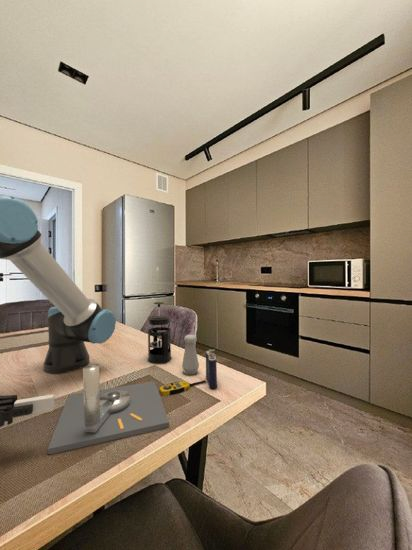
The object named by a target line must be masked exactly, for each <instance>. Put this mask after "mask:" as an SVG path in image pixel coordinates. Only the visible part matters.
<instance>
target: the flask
mask: <svg viewBox="0 0 412 550" xmlns="http://www.w3.org/2000/svg"><path fill="white" fill-rule="evenodd" d="M214 351H216V349H208V350H207V351H205V377H206V379H205V380H206V382H207V383H206V384H208V389H209V390H211V391H214V390H217V389H218V380H217V379H218V375H217V374H218V373H217V371H218V370H217V355H216V354H215V353H214Z"/></svg>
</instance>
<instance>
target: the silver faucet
mask: <svg viewBox="0 0 412 550" xmlns="http://www.w3.org/2000/svg"><path fill="white" fill-rule="evenodd" d="M82 382H83V383H82V385H83V386H82V387H83V390H82V391H83V392H82V393H83V395H84V429H85V432H93V433H95V432H96V431H97V430H98V429H99V427H100V426H101V425H102V424H103V422H104V421H105V420H106V419H107V418H108V416H109V415H110V414H111V413H114V412H118V411H120V410H123V409H124V408H126V407H127V406H128V405H129V404H130V394H129V393H128V392H127V391H123V390H116V391H110V392H107V393H105V394H103V395H101V396H100V390H101V388H100V365H99V364H87V365H86V366H84V367H82Z"/></svg>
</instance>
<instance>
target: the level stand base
mask: <svg viewBox="0 0 412 550" xmlns="http://www.w3.org/2000/svg"><path fill="white" fill-rule="evenodd" d="M116 390H123V391H127V392H128V393H129V394H130V404H129V405H128V406H127V407H126V408H124V409H123V410H120V411H118V412H114V413H111V414H110V415H109V416H108V418H107V419H106V420H105V421H104V422H103V424H102V425H101V426H100V427H99V429H98V430H97V431H96V432H95V433H93V432H85V429H84V395H83V392H78V393H75V394H74V393H72V394H68V396H67V398H66V401H65V403H64V406H63V407H62V408H63V409H62V411H61V414H60V416H59V418H58V420H57V421H58V422H57V424H56V426H55V429H54V432H53V434H52V437H51V440H50V442H49V443H48V444H49V445H48V446H47V455H48V454H50V455H53V454H58V453H63V452H66V451H72V450H76V449H80V448H84V447H89V446H92V445H93V446H94V445H96V444H97V445H98V444H103V443H107V442H112V441H116V440H121V439H123V438H128V437H129V438H130V437H134V436H138V435H143V434H146V433H151V432H155V431H159V430H163V429H168V428H170V421H169V418H168V415H167V412H166V409H165V406H164V404H163V400H162V397H161V394H160V392H159V388H158V386H157V383H156V381H155V380H152V381H148V382H141V383H135V384H130V385H123V386H117V387H116V386H115V387H110V388H103V389H100V396H101V395H103V394H105V393H107V392H110V391H116Z"/></svg>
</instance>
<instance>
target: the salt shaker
mask: <svg viewBox="0 0 412 550" xmlns="http://www.w3.org/2000/svg"><path fill="white" fill-rule="evenodd" d="M183 341H184V343H185V347H184V352H183V359H182V369H183V372H184V373H185V374H186V375H191V376H192V375H195V374H197V372H198V369H199V367H200V363H199V358H198V354H197V348H196V344H195V343H196V342H197V336H196V335H195V334H187V335H185V336H184V338H183Z"/></svg>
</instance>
